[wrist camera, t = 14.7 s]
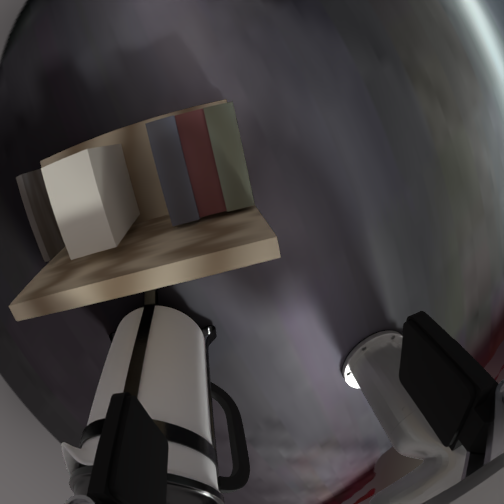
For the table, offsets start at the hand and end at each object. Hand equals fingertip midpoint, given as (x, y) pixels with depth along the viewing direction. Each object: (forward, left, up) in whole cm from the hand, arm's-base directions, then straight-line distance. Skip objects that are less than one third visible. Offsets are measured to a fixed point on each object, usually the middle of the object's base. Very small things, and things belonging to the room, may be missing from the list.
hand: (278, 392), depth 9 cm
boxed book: (+11, -6, -26) cm, 29 cm away
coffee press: (+11, +16, -27) cm, 34 cm away
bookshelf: (+8, -5, -27) cm, 29 cm away
